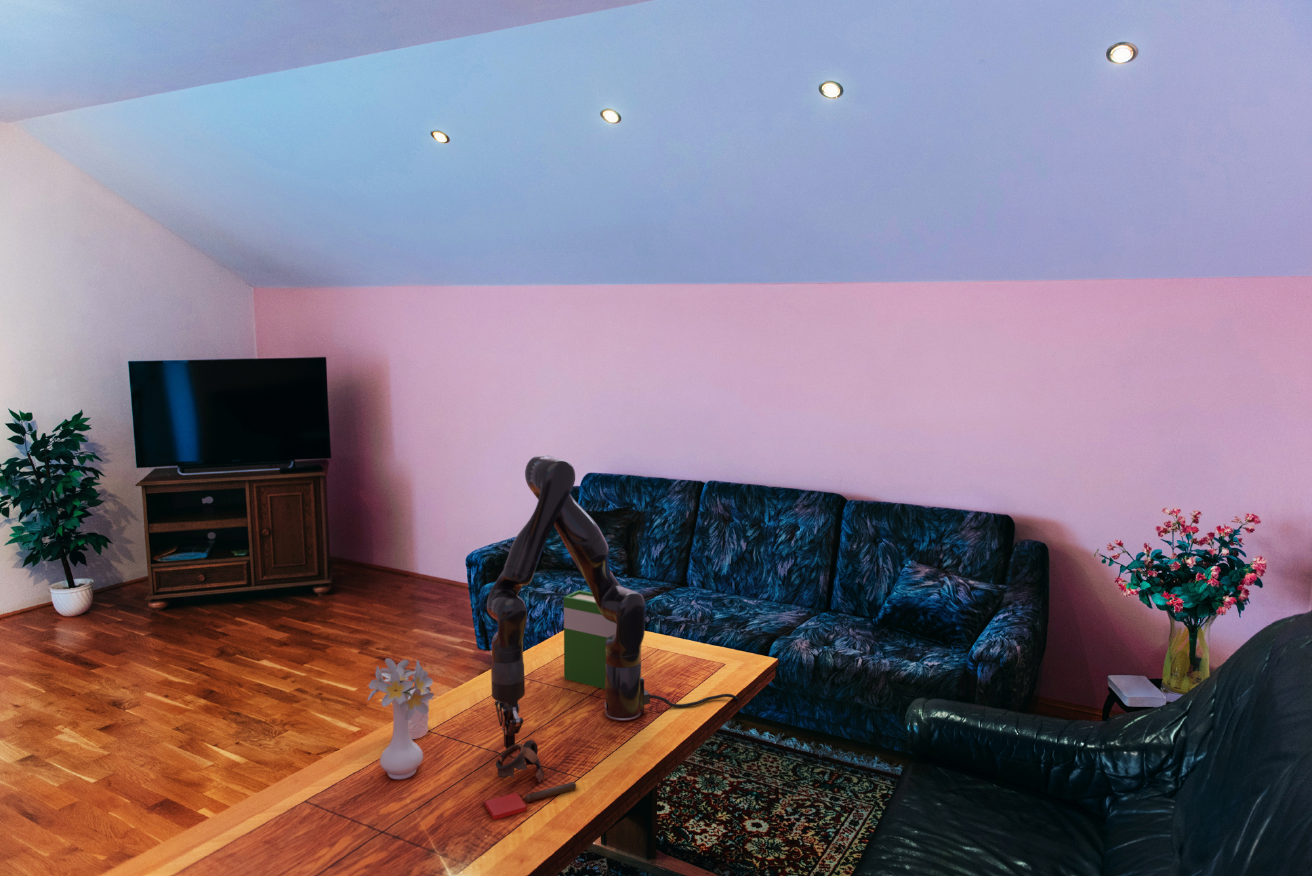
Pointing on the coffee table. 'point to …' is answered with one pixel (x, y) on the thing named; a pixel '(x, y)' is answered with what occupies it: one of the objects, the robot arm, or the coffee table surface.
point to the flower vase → (402, 714)
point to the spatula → (515, 804)
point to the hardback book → (585, 639)
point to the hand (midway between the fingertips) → (509, 747)
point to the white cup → (418, 722)
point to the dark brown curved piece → (520, 760)
